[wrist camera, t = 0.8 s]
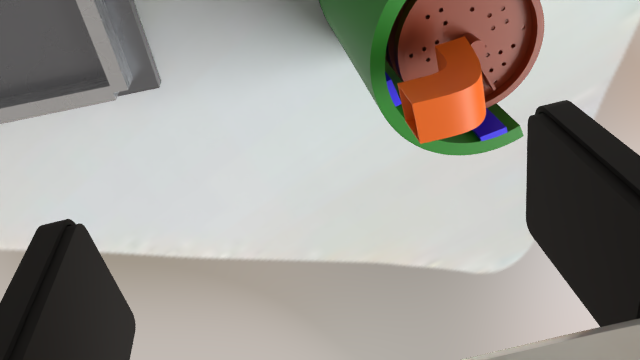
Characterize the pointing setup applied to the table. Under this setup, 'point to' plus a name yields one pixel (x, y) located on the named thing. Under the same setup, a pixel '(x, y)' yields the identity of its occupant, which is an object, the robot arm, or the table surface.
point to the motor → (442, 65)
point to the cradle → (70, 55)
